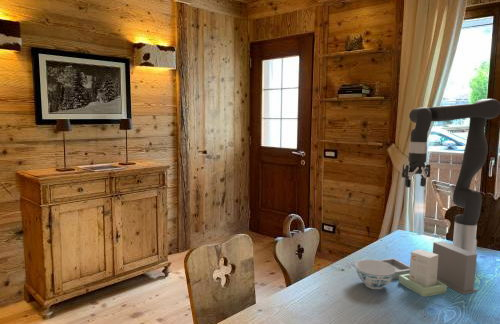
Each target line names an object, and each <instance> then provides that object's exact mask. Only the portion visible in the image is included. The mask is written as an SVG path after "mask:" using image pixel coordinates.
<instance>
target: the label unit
mask: <svg viewBox="0 0 500 324" xmlns="http://www.w3.org/2000/svg"><path fill="white" fill-rule="evenodd" d="M432 244H433V245H432V246H433V247H432V253H434V254H438V270H437V280H438V281H440V282H442V283H444V284H446V285H447V288H449V289H452V290H453V291H456V292H458V294H459V293H460V294H461V295H466V294H473V293H476V292H477V291H478V290H477V289H476V288H475V277H476V267H477V258H478V254H477V253H476V254H475V253H472V252H469V251H467V250H464V249H462V248H459V247H456V246H454V245H453V244H451V243H449V242H446V241H443V240H442V241H441V240H440V241H436V242H435V241H434V242H432Z"/></svg>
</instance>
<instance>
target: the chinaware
mask: <svg viewBox="0 0 500 324" xmlns="http://www.w3.org/2000/svg"><path fill="white" fill-rule="evenodd" d="M377 260H378V259H377ZM377 260H376V259H362V260H359V261H356V263H355V269H356V274H357V276H358V278H359V279H360V280H361V281H362V282H363V283H364V284H365V287H367V288H369V289H372V290H382V289H384V287H385V286H387V285H389V284H391V282H392V281H393V280H394V279H393V278H394V276H395V273H396V269H395V267H394V266H392V265H391V264H388V263H386V262H382V261H377Z"/></svg>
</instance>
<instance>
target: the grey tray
mask: <svg viewBox="0 0 500 324" xmlns="http://www.w3.org/2000/svg"><path fill="white" fill-rule="evenodd" d="M377 261H382V262H386V263H388V264H391V265H392V266H394V267H395V269H396V273H395V276H394V278H393V279H392V280H397V279H398V280H399V275H404V274H409V273H410V265H408V264H406V263H404V262H402V261H400V260H399V259H396V258H393V257H392V258H385V259H377Z"/></svg>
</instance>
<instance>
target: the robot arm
mask: <svg viewBox="0 0 500 324" xmlns="http://www.w3.org/2000/svg"><path fill="white" fill-rule="evenodd" d="M408 115H409V117H408V118H409V120H410V121H411V122H412V123H413V124H414V123H415V126H414V129H411V131H410V140H409V141H410V142H409V147H408V160H407V161H408V163H409V164H403V165H402V169H401V170H402V172H401V178H403V179H405V183H404V184H405V187H406V188H411V186H412V185H411V183H412V178H413V176H415V175H419V177H420V183H419V184H420V185H419V186H420V187H422V188H423V187H424V188H425V186H426V185H427V184H426V183H427V178H431V164H429V163H427V154H428V133H429V130H430V127H431V124H432V122H435V123H436V122H449V121H455V120H463V119H469V123H468V124H469V125H468V126H469V127H468V133H467V136H466V143H465V147H464V150H463V151H464V152H463V155H462V161H461V166H460V170H459V175H458V178H457V181H456V184H455V187H454V190H453V195H452V202H453V204H454V205H455V206H456V207H459V208H462V209H463V213H462V214H461V213H460V214H456V215H455V216H454V226H453V237H452V239H453V240H452V245H454V246H456V247H459V248H462V249H464V250H467V251H469V252H472V253H475V254H477V245H478V240H477V228H478V221H479V219H480V217H481V210H482V204H483V197H482V194H481V193H480V192H479V191H478V190H474V189H470V187H471V184H472V181H473V178H475V176H476V175H477V173H479V171H480V170H481V169H482V168H483V166H484V165H485V163H486V161H487V156H488V149H489V147H488V143H487V137H486V134H485V131H486V130H485V128H486V123H487V120H493V119H495V118H497V117H499V115H500V101H498V100H497V99H494V98H484V99H478V100H476V101H474V103H465V104H449V105H448V104H447V105H445V104H444V105H438V106H433V107H415V108H413V109H412V110H411V111H410V112H409V114H408Z"/></svg>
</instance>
